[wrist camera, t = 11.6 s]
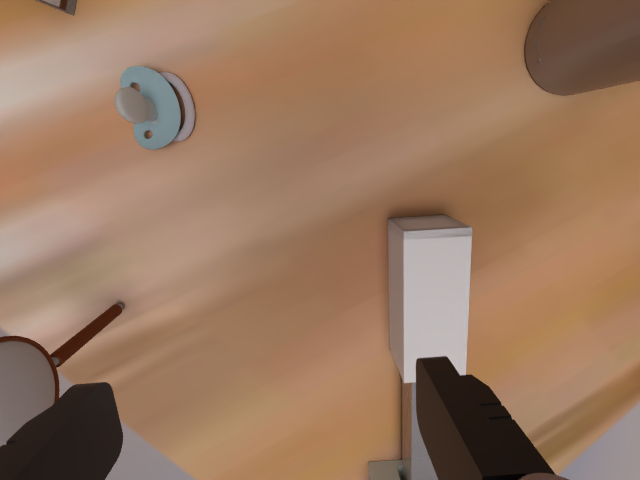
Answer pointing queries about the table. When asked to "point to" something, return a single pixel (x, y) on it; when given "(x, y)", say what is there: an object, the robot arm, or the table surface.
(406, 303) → the grey sleeve
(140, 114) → the pacifier
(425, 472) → the steel tube
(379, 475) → the socket block
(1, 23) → the table surface
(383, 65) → the table surface
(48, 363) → the magnifying glass
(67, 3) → the grey notched tower
